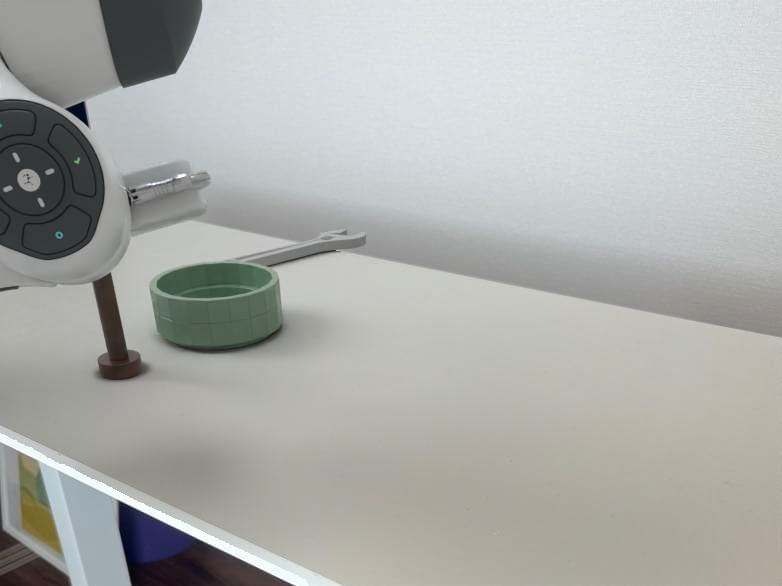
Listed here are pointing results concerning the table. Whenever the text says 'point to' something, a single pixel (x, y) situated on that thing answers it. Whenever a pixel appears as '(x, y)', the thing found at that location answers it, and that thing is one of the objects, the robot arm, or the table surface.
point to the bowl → (217, 304)
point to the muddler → (114, 335)
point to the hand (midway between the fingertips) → (78, 233)
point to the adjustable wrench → (306, 248)
